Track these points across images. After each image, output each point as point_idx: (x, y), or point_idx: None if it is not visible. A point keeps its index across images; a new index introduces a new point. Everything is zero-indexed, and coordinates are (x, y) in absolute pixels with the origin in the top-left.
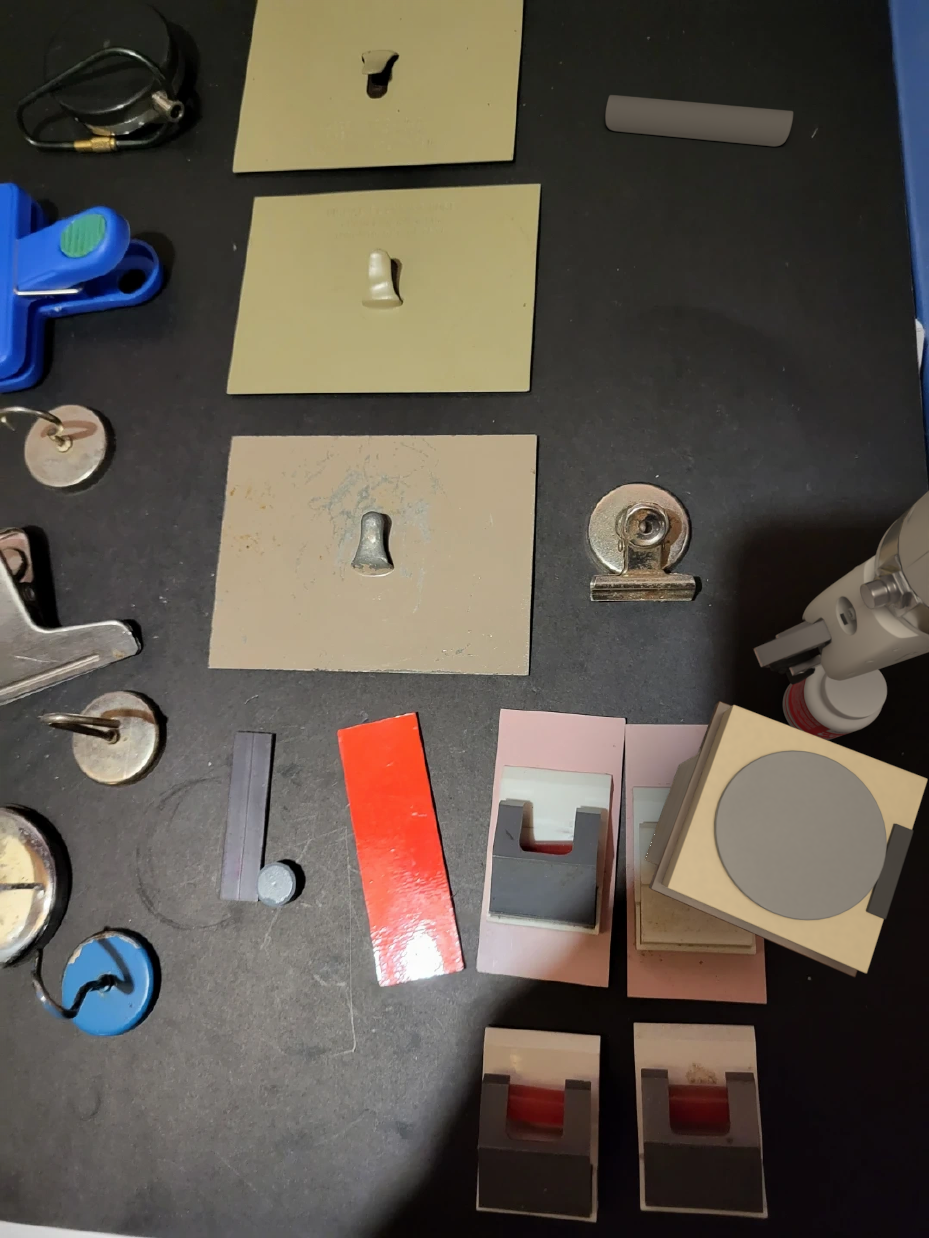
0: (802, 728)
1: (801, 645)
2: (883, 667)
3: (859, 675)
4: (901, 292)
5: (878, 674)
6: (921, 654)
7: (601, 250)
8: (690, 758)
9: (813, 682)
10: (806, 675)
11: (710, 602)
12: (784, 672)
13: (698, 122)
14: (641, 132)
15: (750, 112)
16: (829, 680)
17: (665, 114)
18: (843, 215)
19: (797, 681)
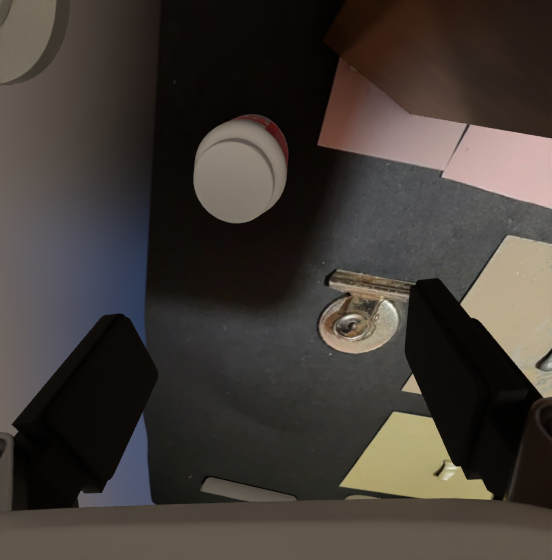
0: (280, 133)
1: None
2: (330, 529)
3: (480, 521)
4: (149, 412)
5: (202, 197)
6: (115, 547)
7: (318, 459)
8: (453, 121)
9: (275, 195)
10: (523, 384)
11: (322, 264)
12: (497, 343)
13: (249, 495)
14: (278, 493)
15: (222, 495)
16: (265, 201)
17: (265, 501)
18: (179, 447)
19: (460, 306)
